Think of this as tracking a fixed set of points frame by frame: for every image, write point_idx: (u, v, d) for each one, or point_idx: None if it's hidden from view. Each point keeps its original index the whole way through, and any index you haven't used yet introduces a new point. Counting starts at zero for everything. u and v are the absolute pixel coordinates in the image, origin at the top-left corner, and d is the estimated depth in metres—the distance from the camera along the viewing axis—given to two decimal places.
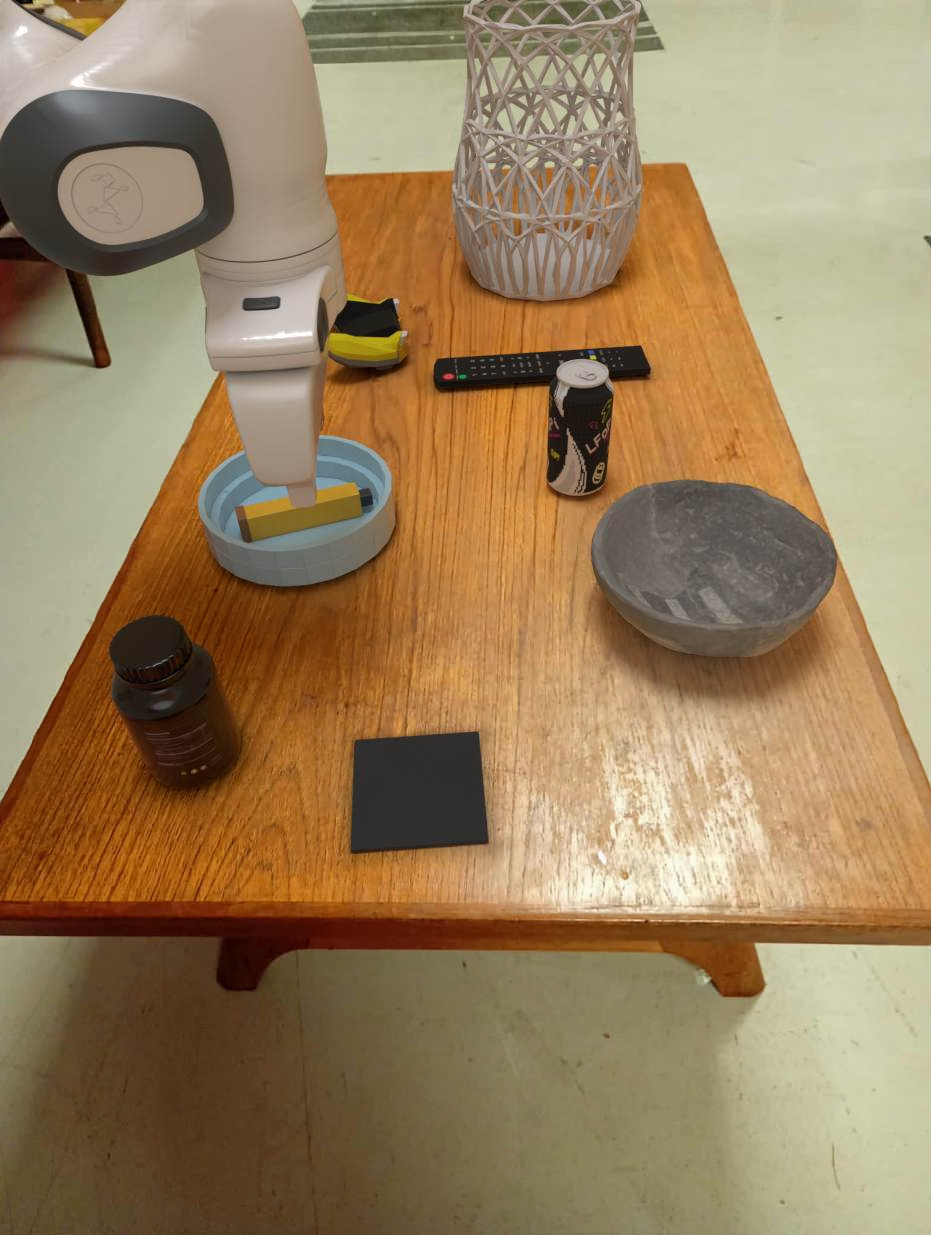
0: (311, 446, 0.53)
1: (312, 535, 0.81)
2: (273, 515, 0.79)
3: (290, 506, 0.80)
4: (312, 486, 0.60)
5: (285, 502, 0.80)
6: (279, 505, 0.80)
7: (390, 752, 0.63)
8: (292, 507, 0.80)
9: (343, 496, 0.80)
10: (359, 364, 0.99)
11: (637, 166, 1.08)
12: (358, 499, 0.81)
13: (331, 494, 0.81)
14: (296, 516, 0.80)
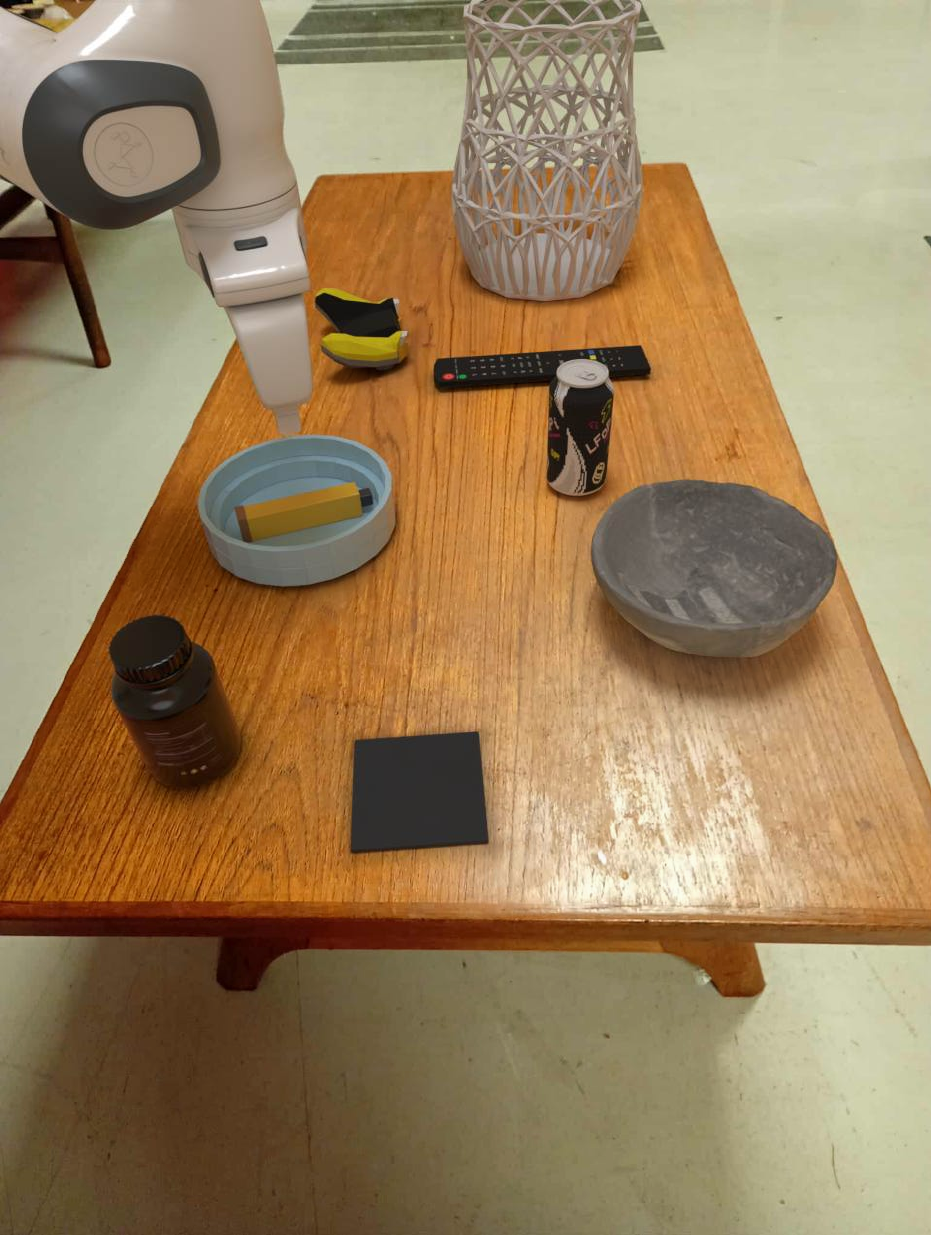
0: (310, 364, 0.61)
1: (312, 535, 0.81)
2: (273, 515, 0.79)
3: (290, 506, 0.80)
4: (298, 413, 0.68)
5: (285, 502, 0.80)
6: (279, 505, 0.80)
7: (390, 752, 0.63)
8: (292, 507, 0.80)
9: (343, 496, 0.80)
10: (359, 364, 0.99)
11: (637, 166, 1.08)
12: (358, 499, 0.81)
13: (331, 494, 0.81)
14: (296, 516, 0.80)
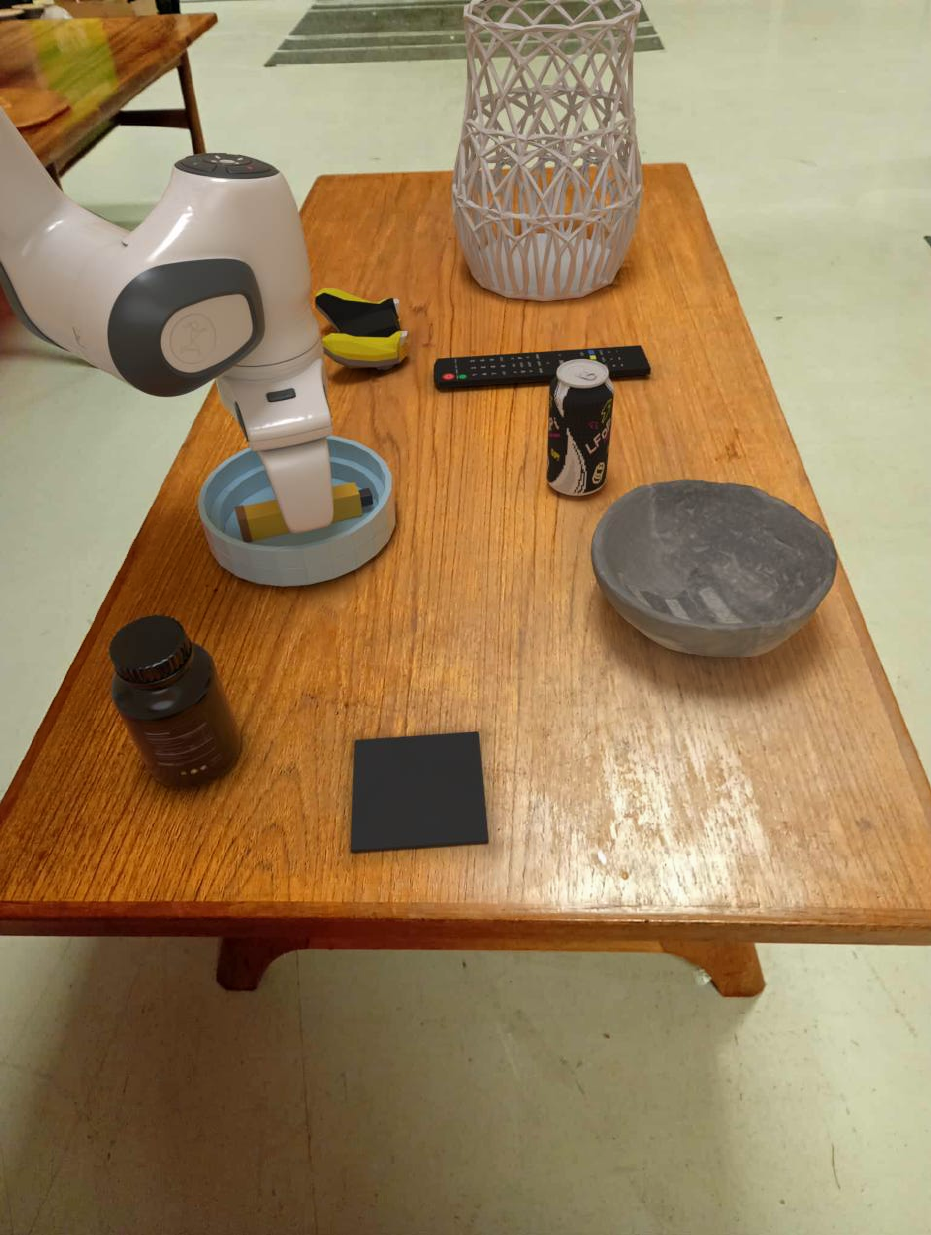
0: (331, 496, 0.69)
1: (312, 535, 0.81)
2: (273, 515, 0.79)
3: None
4: None
5: None
6: None
7: (390, 752, 0.63)
8: None
9: (343, 496, 0.80)
10: (359, 364, 0.99)
11: (637, 166, 1.08)
12: (358, 499, 0.81)
13: None
14: None
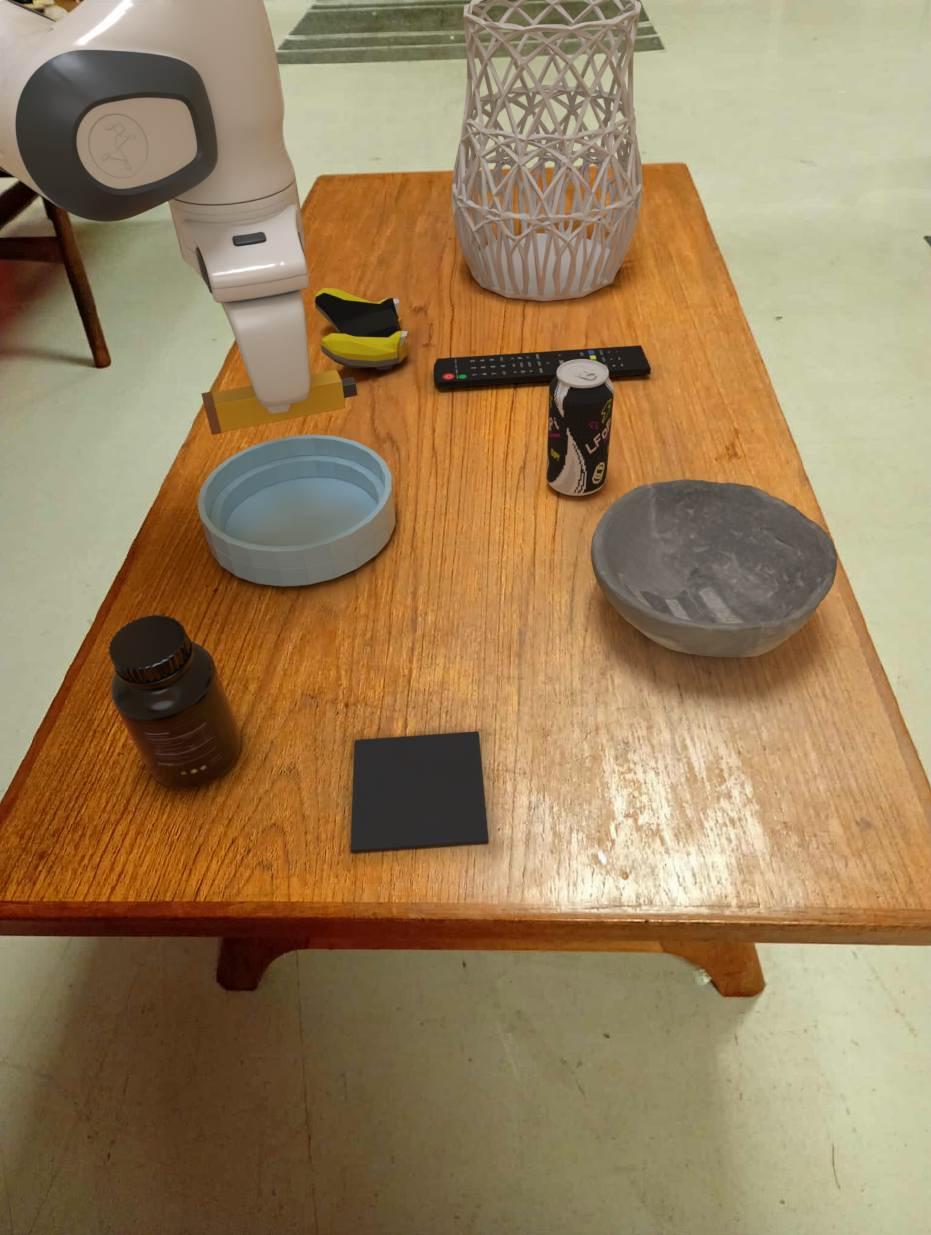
0: (308, 362, 0.61)
1: (312, 535, 0.81)
2: (244, 402, 0.71)
3: None
4: None
5: None
6: (251, 391, 0.71)
7: (390, 752, 0.63)
8: None
9: (323, 383, 0.72)
10: (359, 364, 0.99)
11: (637, 166, 1.08)
12: (340, 387, 0.73)
13: (310, 381, 0.72)
14: None
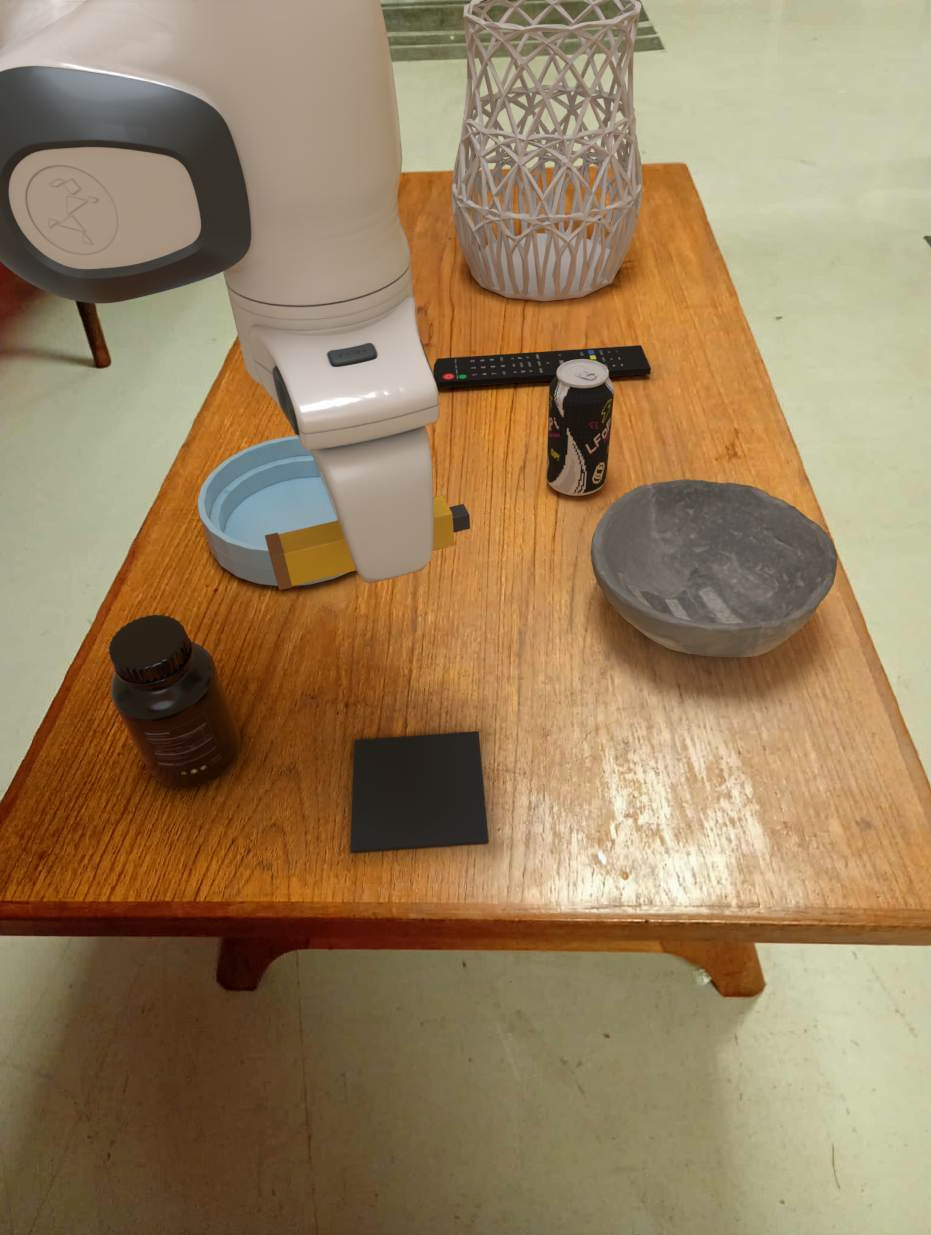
0: (433, 524, 0.42)
1: None
2: (324, 548, 0.52)
3: None
4: None
5: None
6: (332, 532, 0.53)
7: (390, 752, 0.63)
8: None
9: None
10: None
11: (637, 166, 1.08)
12: (450, 521, 0.54)
13: None
14: None
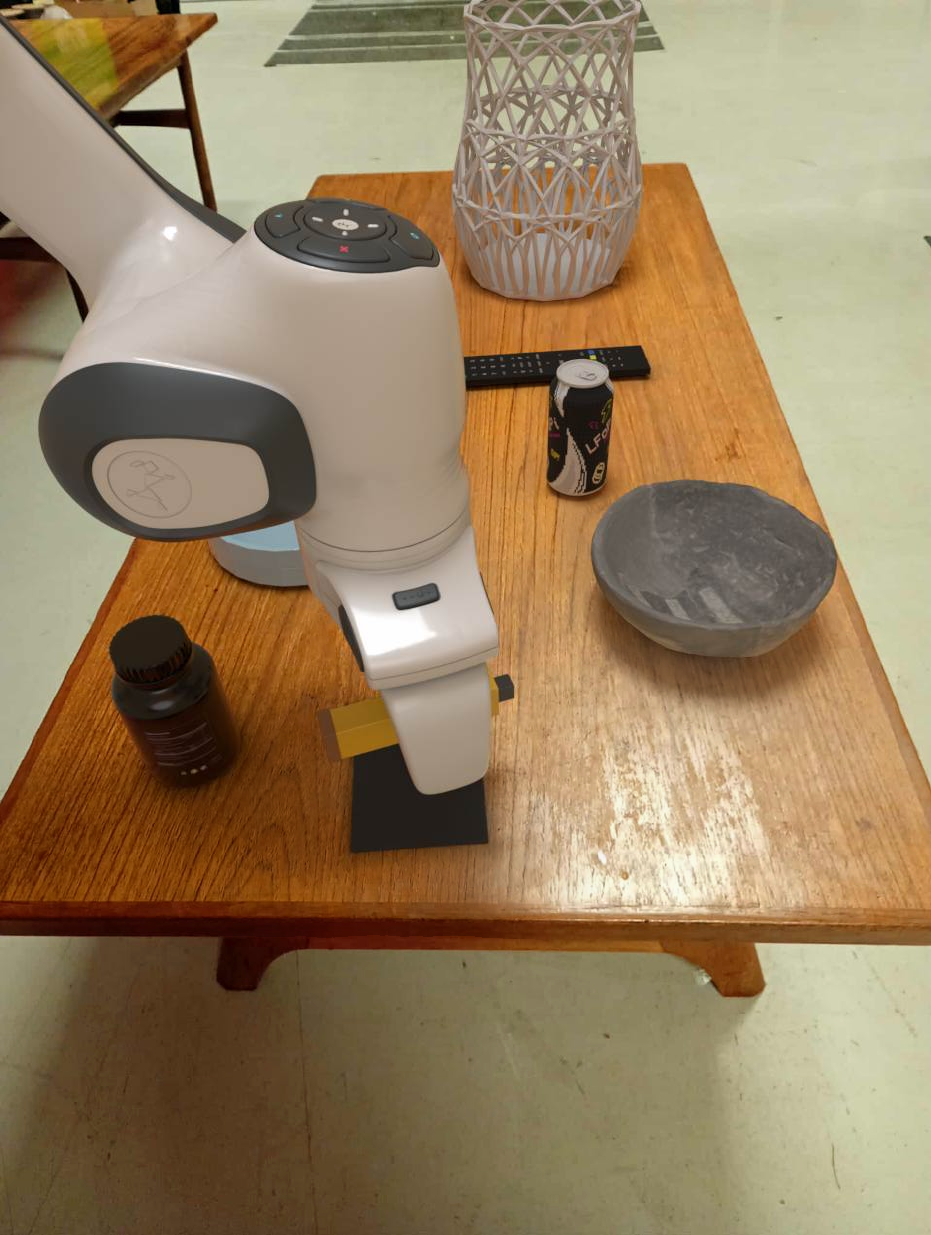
0: (489, 745, 0.43)
1: None
2: (374, 725, 0.53)
3: None
4: None
5: None
6: (382, 708, 0.54)
7: (390, 752, 0.63)
8: None
9: None
10: None
11: (637, 166, 1.08)
12: (496, 695, 0.55)
13: None
14: None
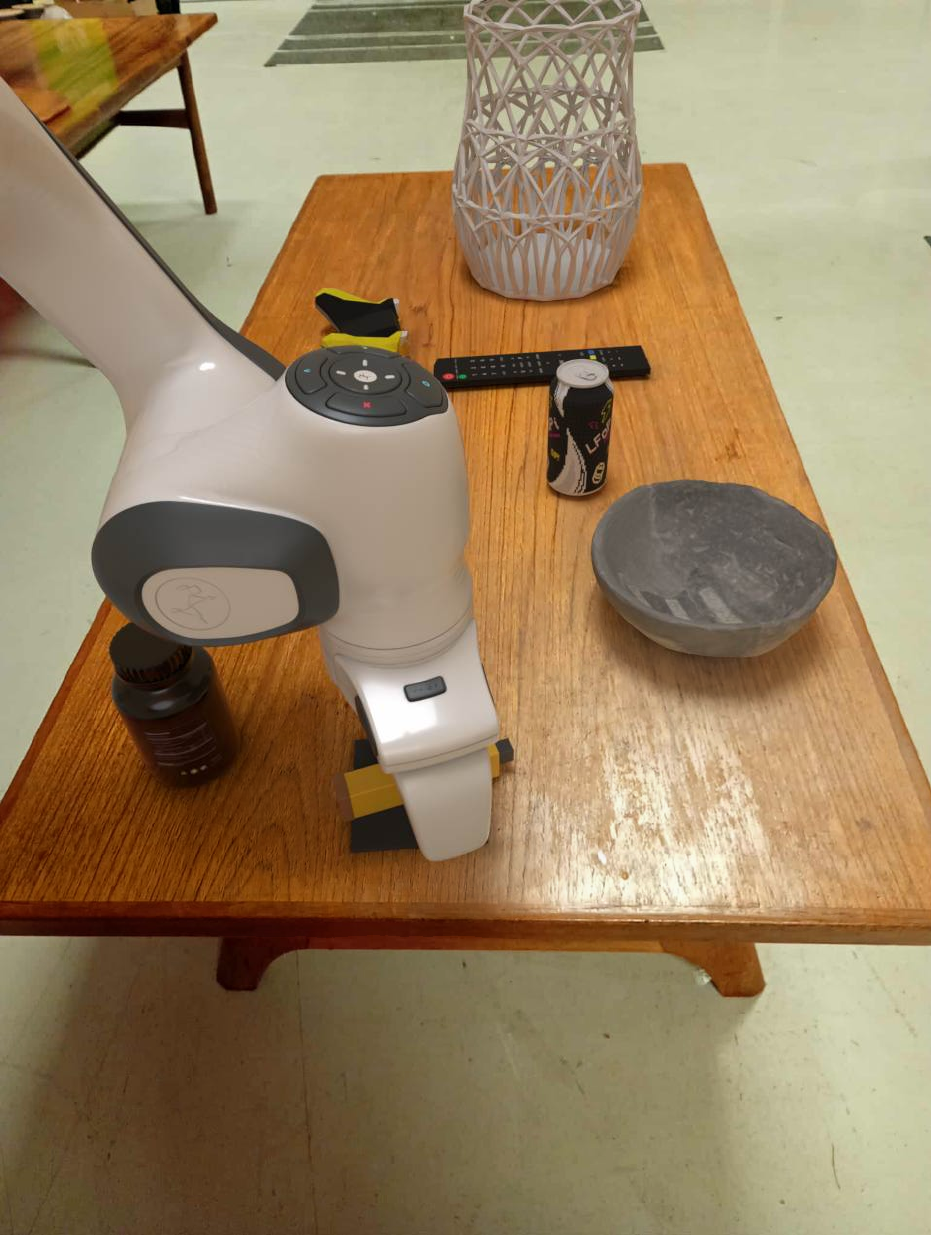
0: (490, 817, 0.48)
1: None
2: (385, 789, 0.58)
3: None
4: None
5: None
6: None
7: None
8: None
9: None
10: None
11: (637, 166, 1.08)
12: (497, 759, 0.60)
13: None
14: None
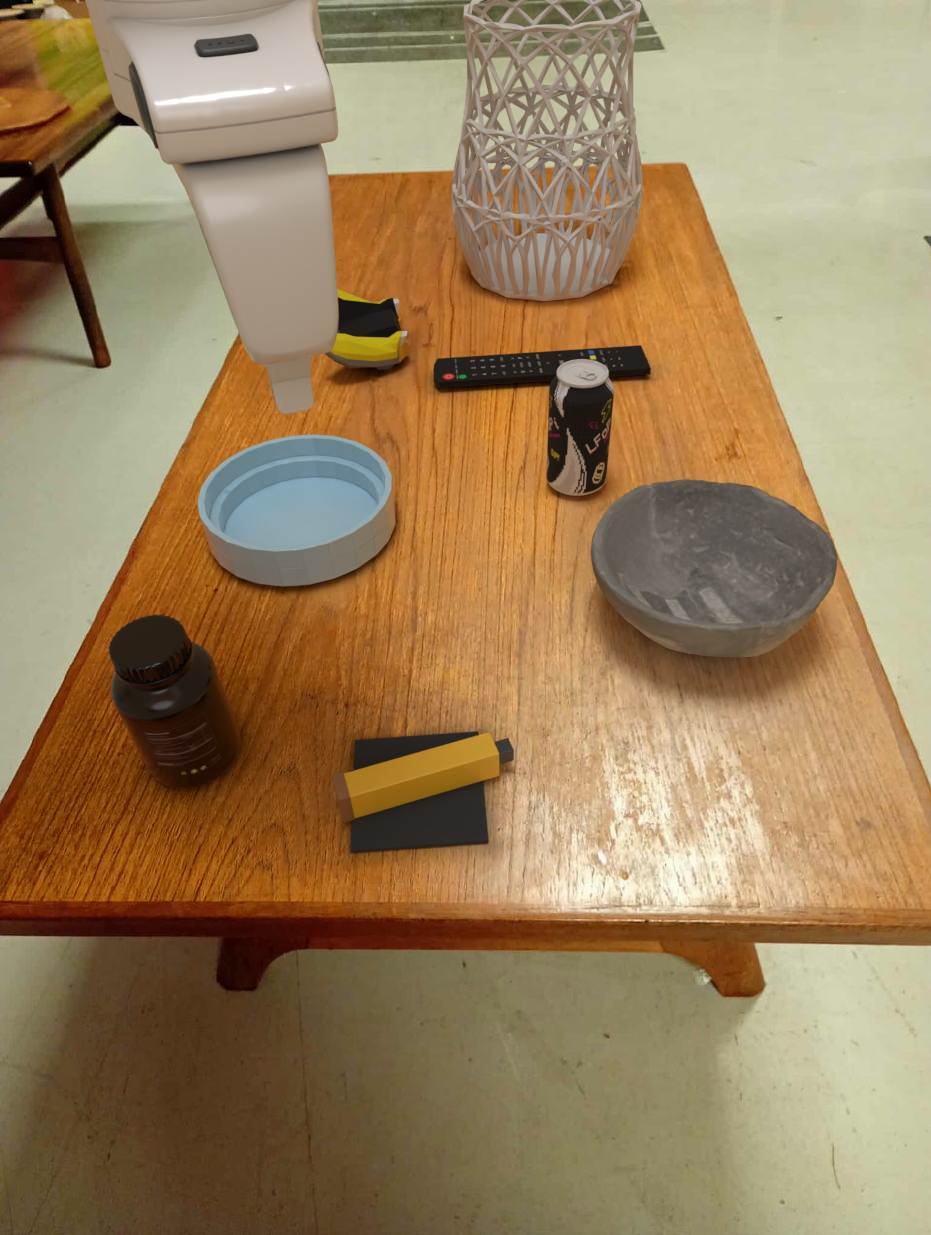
0: (335, 281, 0.34)
1: (312, 535, 0.81)
2: (385, 789, 0.58)
3: (407, 774, 0.59)
4: (309, 375, 0.41)
5: (400, 766, 0.59)
6: (392, 772, 0.59)
7: (390, 752, 0.63)
8: (410, 776, 0.58)
9: (478, 758, 0.59)
10: (359, 364, 0.99)
11: (637, 166, 1.08)
12: (497, 759, 0.60)
13: (461, 754, 0.60)
14: (415, 786, 0.59)
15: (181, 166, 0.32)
